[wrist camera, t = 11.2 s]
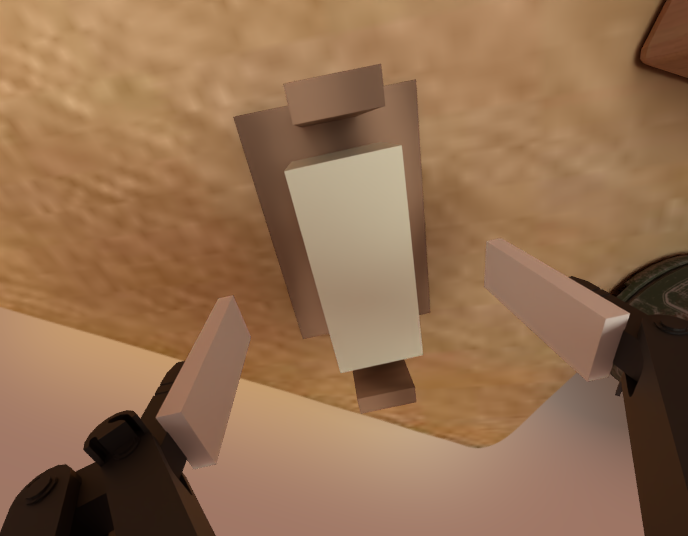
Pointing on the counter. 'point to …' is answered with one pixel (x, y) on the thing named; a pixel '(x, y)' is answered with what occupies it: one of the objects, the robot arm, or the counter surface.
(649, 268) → the canister
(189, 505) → the robot arm
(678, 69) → the block
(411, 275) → the cream rectangular block
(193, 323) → the counter surface
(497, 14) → the counter surface
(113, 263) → the counter surface
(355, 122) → the peg frame
